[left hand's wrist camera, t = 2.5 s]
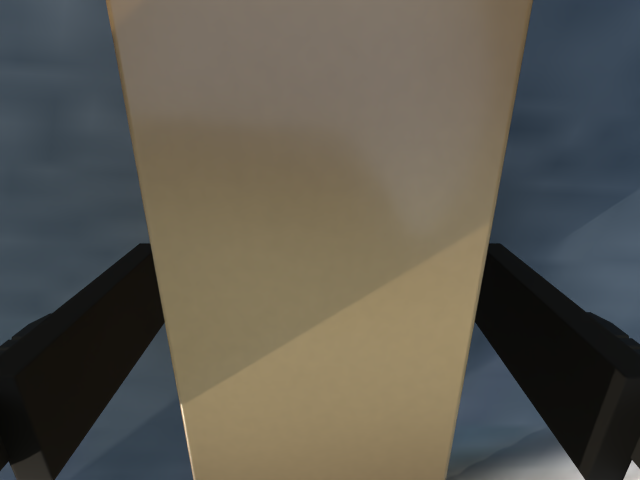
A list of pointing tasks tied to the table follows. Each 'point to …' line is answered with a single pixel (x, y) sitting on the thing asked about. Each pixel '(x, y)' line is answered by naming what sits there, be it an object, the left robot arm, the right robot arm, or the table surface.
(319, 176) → the pine batten
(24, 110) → the table surface
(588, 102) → the table surface
